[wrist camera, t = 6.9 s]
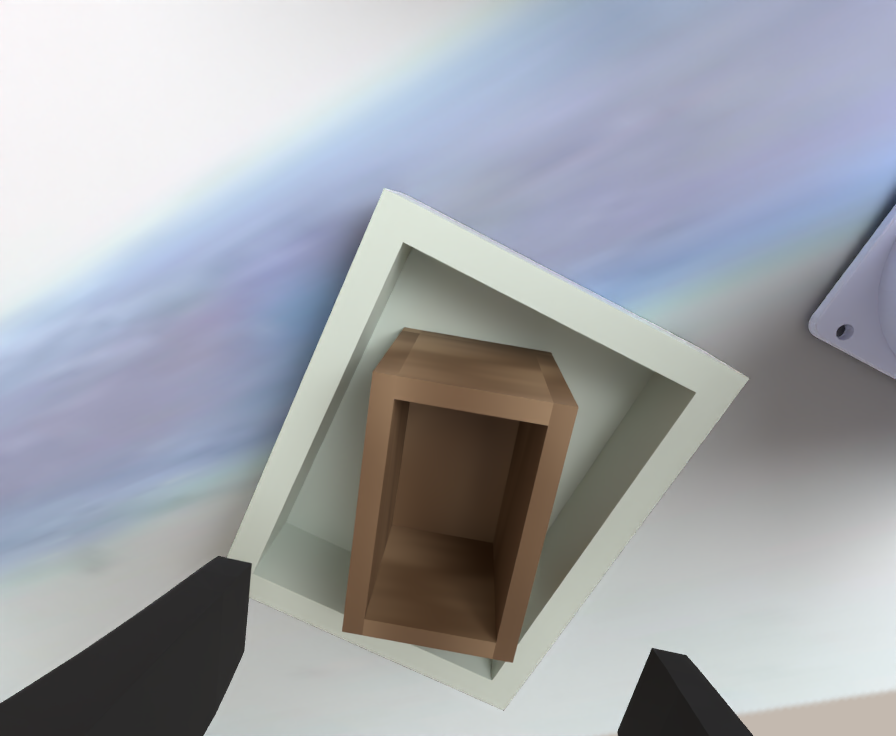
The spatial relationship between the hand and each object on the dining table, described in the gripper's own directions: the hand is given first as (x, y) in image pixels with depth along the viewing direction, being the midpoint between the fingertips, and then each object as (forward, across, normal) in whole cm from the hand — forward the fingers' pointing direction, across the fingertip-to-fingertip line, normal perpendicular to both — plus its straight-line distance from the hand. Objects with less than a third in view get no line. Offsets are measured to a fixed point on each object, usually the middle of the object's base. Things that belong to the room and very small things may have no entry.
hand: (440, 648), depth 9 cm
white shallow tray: (+10, 0, +1) cm, 10 cm away
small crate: (+9, 0, +1) cm, 9 cm away
